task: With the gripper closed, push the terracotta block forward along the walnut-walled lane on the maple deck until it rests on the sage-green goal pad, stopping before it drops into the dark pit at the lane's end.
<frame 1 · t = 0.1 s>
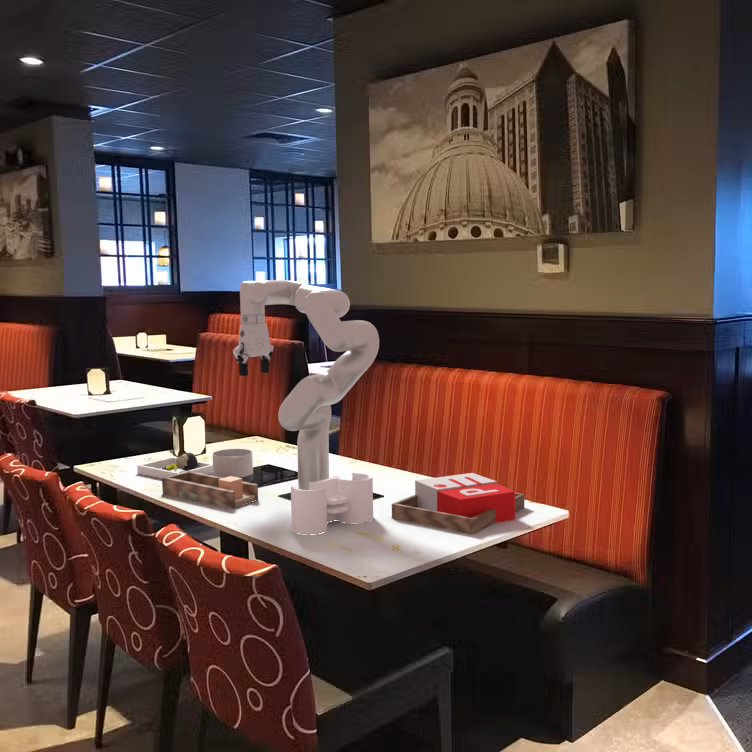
hand: (254, 374, 262), 37 cm above the table, tool pointing down, fingers open, 9 cm apart
toy: (176, 473, 285), touching toy tray
long wooden tray: (208, 496, 255), on the table
planter: (233, 484, 270), on the table
block: (230, 495, 249), point 2 cm above the table, touching long wooden tray
bracket: (334, 525, 225), on the table
toy tray: (176, 473, 285), on the table
red and white box: (465, 514, 234), on the table, touching logo tray
logo tray: (459, 512, 235), on the table
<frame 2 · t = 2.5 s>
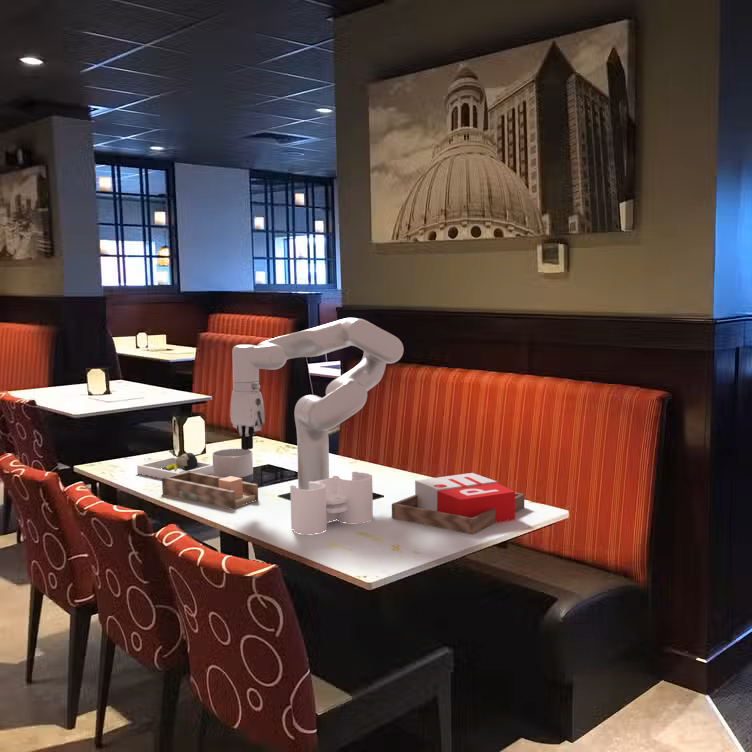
hand: (247, 448, 242), 17 cm above the table, tool pointing down, fingers closed
nothing on the table moved.
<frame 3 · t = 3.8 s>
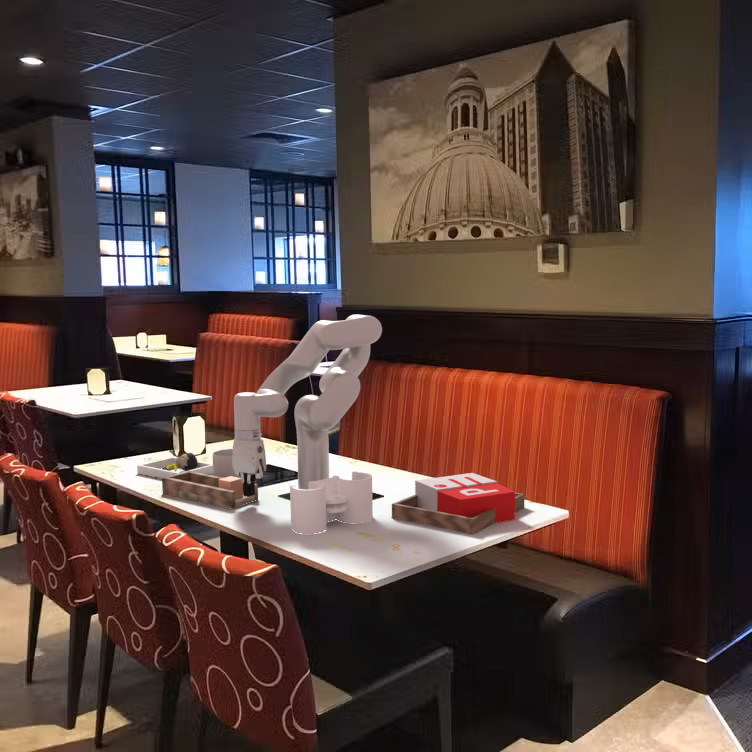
hand: (249, 495, 244), 3 cm above the table, tool pointing down, fingers closed
nothing on the table moved.
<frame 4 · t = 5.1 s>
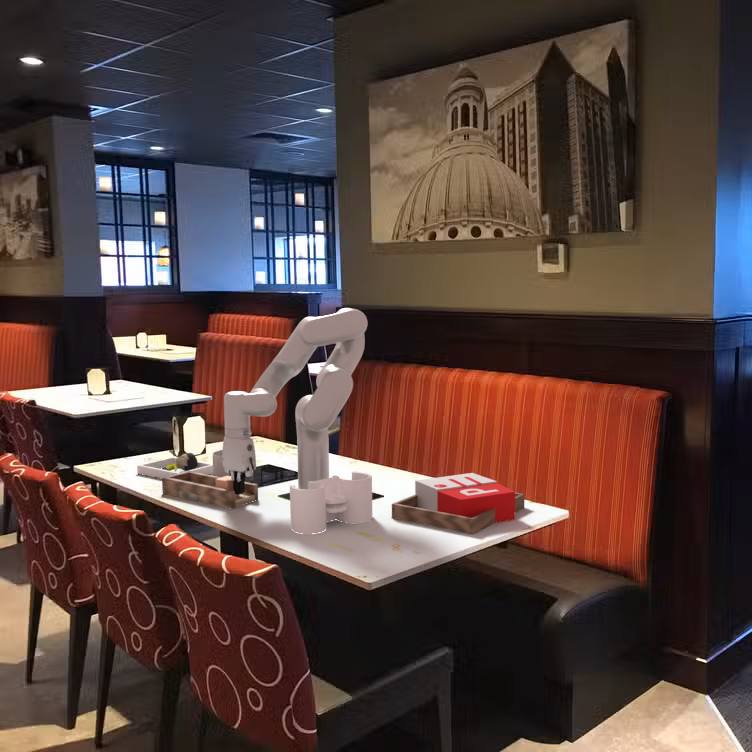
hand: (239, 493, 246), 3 cm above the table, tool pointing down, fingers closed
block: (227, 494, 249), point 2 cm above the table, touching gripper
everything else where it was.
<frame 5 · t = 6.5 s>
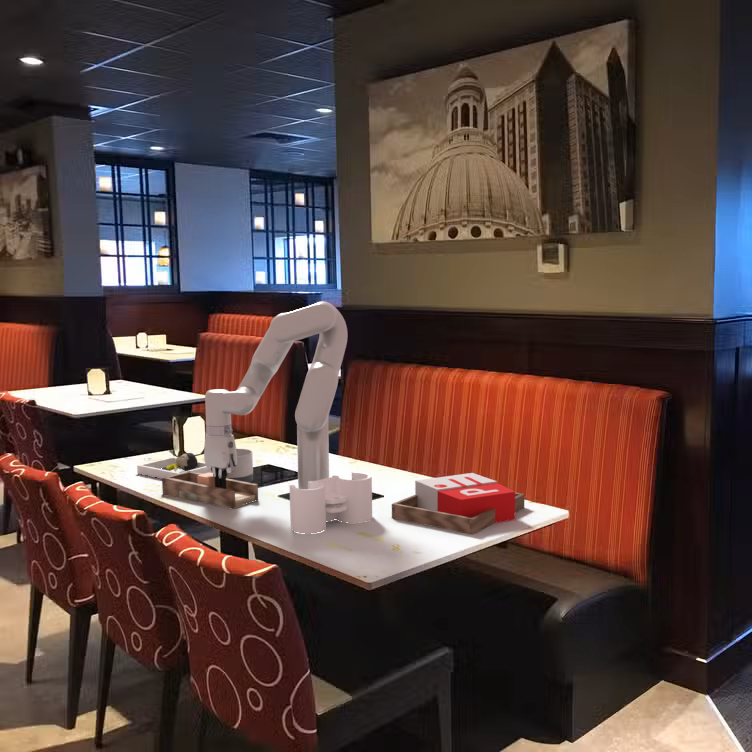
hand: (220, 489, 251), 3 cm above the table, tool pointing down, fingers closed
block: (209, 490, 254), point 2 cm above the table, touching gripper, long wooden tray
everything else where it was.
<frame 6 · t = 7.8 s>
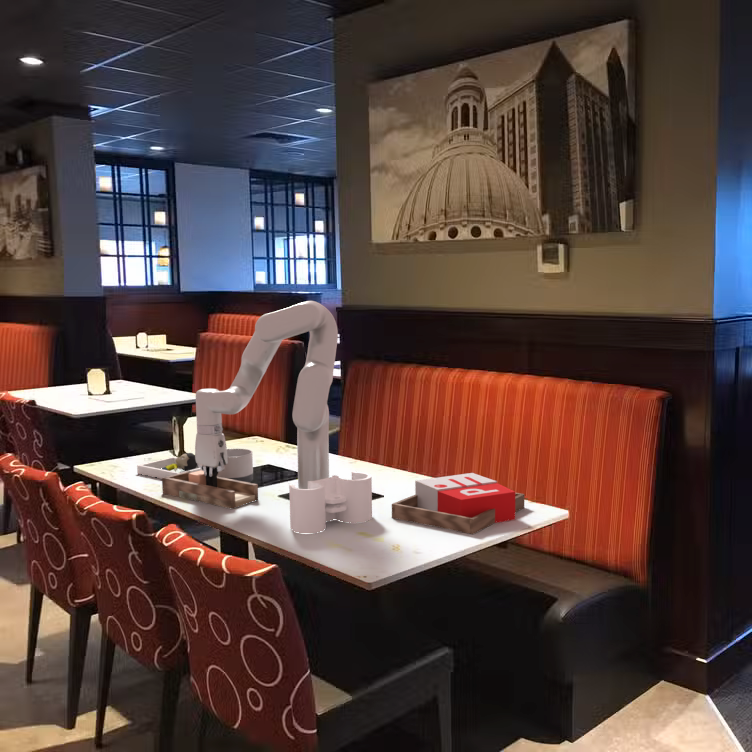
hand: (211, 487, 253), 3 cm above the table, tool pointing down, fingers closed
block: (200, 488, 256), point 2 cm above the table, touching gripper, long wooden tray
everything else where it was.
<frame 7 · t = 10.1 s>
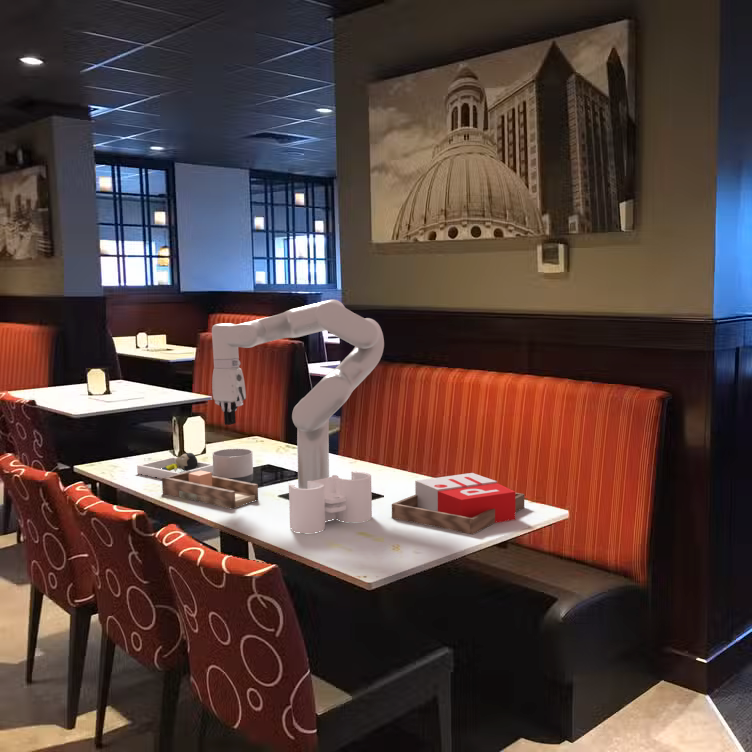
hand: (230, 423, 251), 23 cm above the table, tool pointing down, fingers closed
block: (200, 488, 256), point 2 cm above the table, touching long wooden tray
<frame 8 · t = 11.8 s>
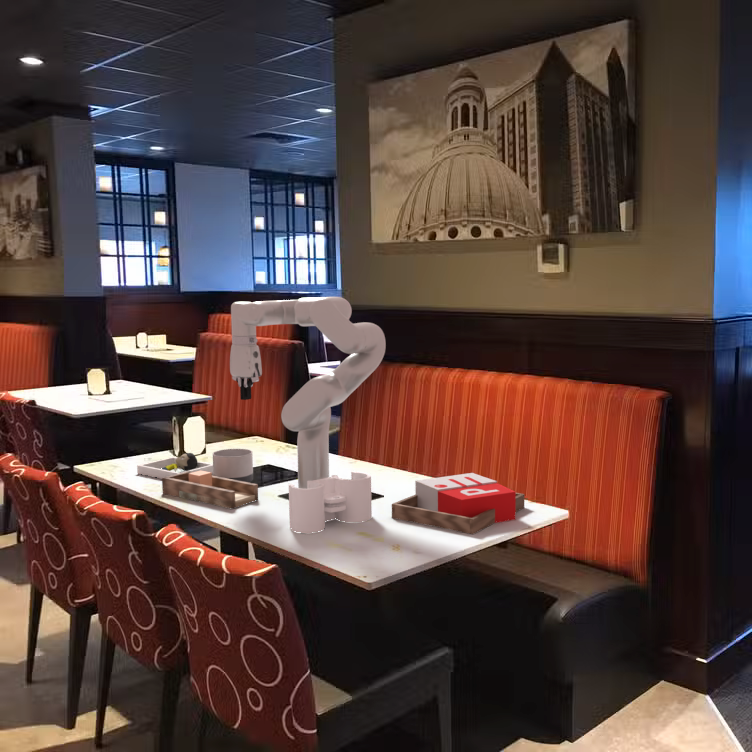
hand: (246, 399, 260), 29 cm above the table, tool pointing down, fingers closed
at the end: block inside the target area on the long wooden tray (0.8 cm from its centre), point 2.0 cm above the long wooden tray's base; block tilted 0°; block moved 13.3 cm from its start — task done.
